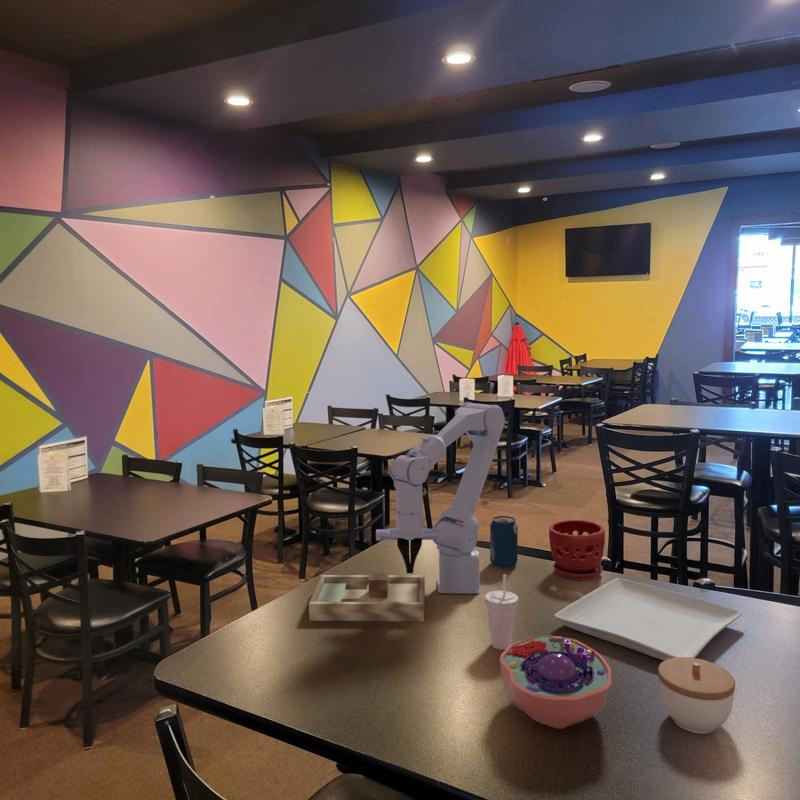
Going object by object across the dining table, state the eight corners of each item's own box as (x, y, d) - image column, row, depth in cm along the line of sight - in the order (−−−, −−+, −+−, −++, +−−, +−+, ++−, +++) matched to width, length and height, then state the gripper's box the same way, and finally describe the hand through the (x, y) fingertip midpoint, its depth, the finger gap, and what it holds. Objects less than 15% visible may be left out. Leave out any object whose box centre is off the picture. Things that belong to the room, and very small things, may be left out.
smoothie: (517, 654, 123) (518, 582, 122) (483, 651, 124) (483, 580, 123) (518, 638, 129) (519, 569, 128) (485, 636, 131) (485, 567, 129)
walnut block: (388, 590, 148) (388, 573, 147) (387, 597, 144) (386, 580, 143) (370, 590, 148) (370, 573, 147) (368, 597, 144) (368, 580, 143)
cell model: (604, 684, 112) (606, 621, 111) (615, 759, 93) (617, 683, 92) (504, 674, 116) (504, 612, 115) (494, 744, 97) (494, 671, 96)
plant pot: (573, 560, 171) (574, 515, 170) (615, 576, 161) (616, 528, 159) (537, 571, 164) (537, 524, 163) (578, 588, 153) (579, 538, 152)
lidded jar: (728, 708, 105) (730, 652, 104) (738, 749, 95) (741, 687, 94) (655, 697, 108) (657, 642, 107) (658, 735, 98) (659, 675, 97)
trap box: (424, 590, 153) (424, 575, 153) (423, 621, 138) (423, 604, 137) (322, 590, 155) (321, 575, 154) (309, 620, 139) (308, 603, 138)
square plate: (616, 591, 152) (616, 574, 152) (743, 628, 133) (744, 610, 133) (551, 630, 134) (551, 611, 133) (688, 680, 114) (688, 659, 114)
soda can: (522, 564, 169) (523, 518, 168) (507, 571, 164) (507, 524, 163) (500, 558, 174) (500, 513, 173) (484, 565, 169) (484, 519, 168)
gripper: (374, 516, 140) (375, 578, 141) (443, 516, 139) (443, 578, 140) (377, 507, 147) (378, 566, 148) (442, 507, 146) (443, 566, 147)
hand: (410, 571), depth 145 cm, fingers closed
